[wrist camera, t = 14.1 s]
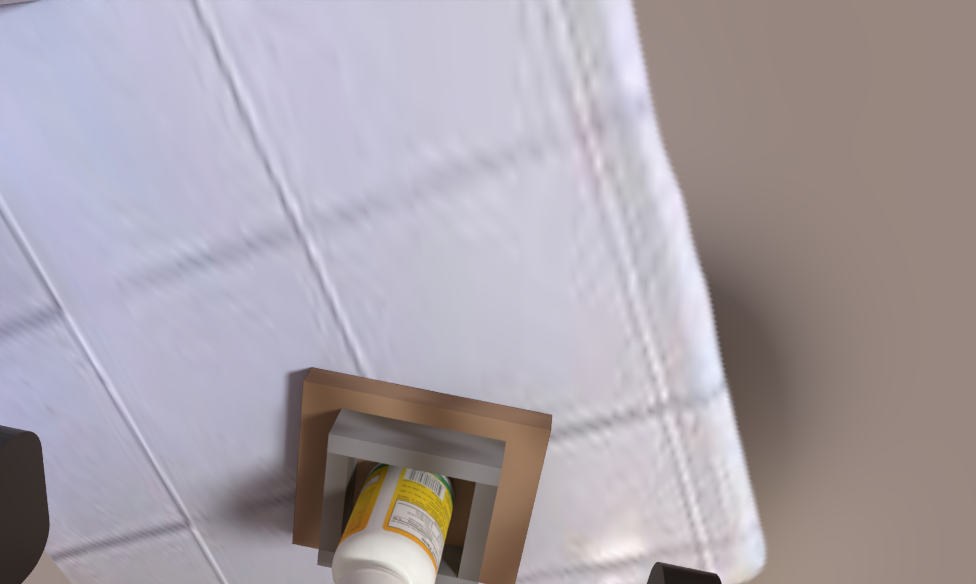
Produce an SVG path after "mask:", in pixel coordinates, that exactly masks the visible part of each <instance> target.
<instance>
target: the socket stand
mask: <svg viewBox="0 0 976 584" xmlns="http://www.w3.org/2000/svg"><path fill="white" fill-rule="evenodd" d="M551 424H552V415H549V414H544V413H539V412H534V411H529V410H524V409H519V408H514V407H509V406H504V405H499V404H493V403H488V402H483V401H478V400H473V399H468V398H463V397H458V396H453V395H448V394H443V393H438V392H433V391H428V390H423V389H418V388H413V387H408V386H403V385H398V384H393V383H388V382H383V381H378V380H373V379H368V378H363V377H358V376H352V375H347V374H342V373H337V372H332V371H327V370H322V369H317V368H311V370H310V371H309V373H308V375H307V376H306V378H305V379H304V381H303V395H302V410H301V425H300V440H299V454H298V469H297V484H296V499H295V513H294V528H293V543H292V544H297V545H301V546H306V547H311V548H316V549H319V552H318V564H317V565H321V566H325V567H330V568H332V562H333V558H334V555H335V552H336V549H337V547H338V545H339V542H340V540H341V538H342V535H343V533H344V531H345V528H346V526H347V523H348V521H349V519H350V516H351V514H352V512H353V509H354V507H355V504H356V502H357V500H358V497H359V495H360V493H361V490H362V488H363V485H364V483H365V481H366V478H367V476H368V474H369V473H370V471H371V470H372V469H373V468H374V467H375V466H376V465H377V464H378V463H384V464H389V465H394V466H399V467H404V468H409V469H414V470H419V471H424V472H428V473H433V474H438V475H443V476H448V477H449V479H450V481H451V483H452V486H453V489H454V497H455V500H454V506H453V511H452V515H451V519H450V523H449V527H448V531H447V535H446V539H445V543H444V547H443V552H442V556H441V560H440V564H439V568H438V573H437V577H436V580H435V584H478V582H480V583H485V584H515V582H516V578H517V573H518V569H519V565H520V561H521V556H522V552H523V548H524V543H525V539H526V535H527V531H528V526H529V522H530V518H531V514H532V509H533V505H534V501H535V497H536V492H537V488H538V484H539V480H540V475H541V471H542V467H543V463H544V458H545V454H546V450H547V446H548V441H549V437H550V433H551Z"/></svg>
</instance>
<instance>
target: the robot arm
mask: <svg viewBox="0 0 976 584" xmlns="http://www.w3.org/2000/svg"><path fill="white" fill-rule="evenodd" d="M28 1H36V0H0V5H2V4H11V3H19V2H28ZM49 526H50V525H49V512H48V503H47V493H46V484H45V474H44V465H43V455H42V447H41V442H40V440H39V438H38V436H37V435H36V434H35V433H33V432H30V431H25V430H21V429H16V428H11V427H6V426H1V425H0V584H21V583H22V582H23V581H24V580H25V579H26V578H27V577H28V575H29V574H30V573H31V572H32V570H33V569H34V568H35V566H36V564H37V563H38V561H39V559H40V557H41V555H42V553H43V551H44V548H45V545H46V542H47V539H48V534H49ZM647 584H721V580H720V578H719V576H718V575H717V574H715V573H710V572H705V571H701V570H696V569H691V568H686V567H681V566H676V565H671V564H666V563H661V562H657V563H655V565H654V566H653V568H652V570H651V573H650V576H649V579H648V582H647Z"/></svg>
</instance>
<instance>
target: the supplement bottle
mask: <svg viewBox="0 0 976 584" xmlns="http://www.w3.org/2000/svg"><path fill="white" fill-rule="evenodd" d="M454 500H455V497H454V489H453V486H452V483H451V481H450V479H449V477H448V476H443V475H438V474H433V473H428V472H424V471H419V470H414V469H409V468H404V467H399V466H394V465H389V464H384V463H378V464H377V465H376V466H375V467H374V468H373V469H372V470H371V471H370V473H369V474H368V476H367V478H366V481H365V483H364V485H363V488H362V490H361V493H360V495H359V497H358V500H357V502H356V504H355V507H354V509H353V512H352V514H351V516H350V519H349V521H348V523H347V526H346V528H345V531H344V533H343V535H342V538H341V540H340V542H339V545H338V547H337V549H336V552H335V555H334V558H333V562H332V576H333V580H334V583H335V584H435V580H436V577H437V573H438V568H439V564H440V560H441V556H442V552H443V547H444V543H445V539H446V535H447V531H448V527H449V523H450V519H451V515H452V511H453V506H454Z"/></svg>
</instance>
